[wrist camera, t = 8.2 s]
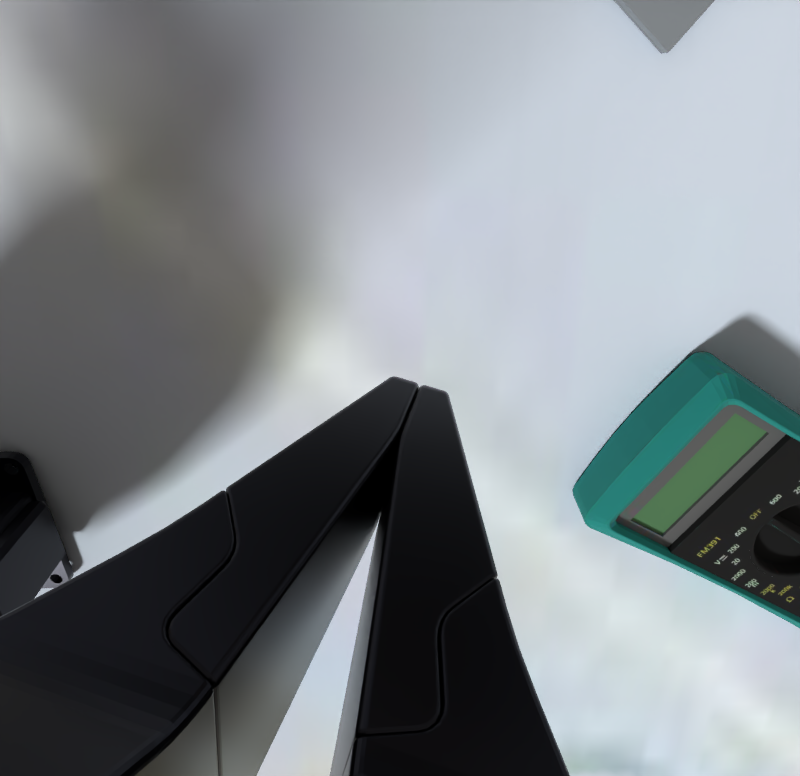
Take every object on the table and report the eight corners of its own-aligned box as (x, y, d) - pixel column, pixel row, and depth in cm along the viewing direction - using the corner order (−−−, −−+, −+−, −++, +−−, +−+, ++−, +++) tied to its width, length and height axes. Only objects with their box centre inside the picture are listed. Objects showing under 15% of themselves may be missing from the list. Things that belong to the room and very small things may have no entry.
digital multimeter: (817, 614, 27) (862, 671, 25) (559, 483, 24) (580, 533, 21) (957, 504, 24) (1024, 555, 22) (687, 336, 21) (729, 372, 18)
